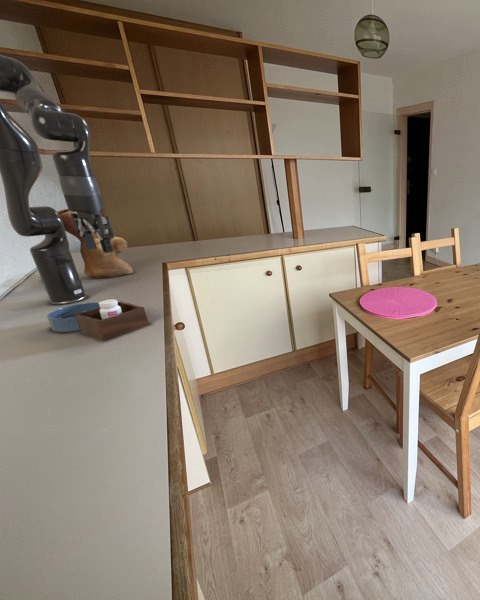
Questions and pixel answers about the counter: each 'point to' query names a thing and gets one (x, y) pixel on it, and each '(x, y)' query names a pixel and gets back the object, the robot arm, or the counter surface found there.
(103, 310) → the pill bottle
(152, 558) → the counter surface
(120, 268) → the tan lumpy upright piece
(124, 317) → the box
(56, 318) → the bowl
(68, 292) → the robot arm
